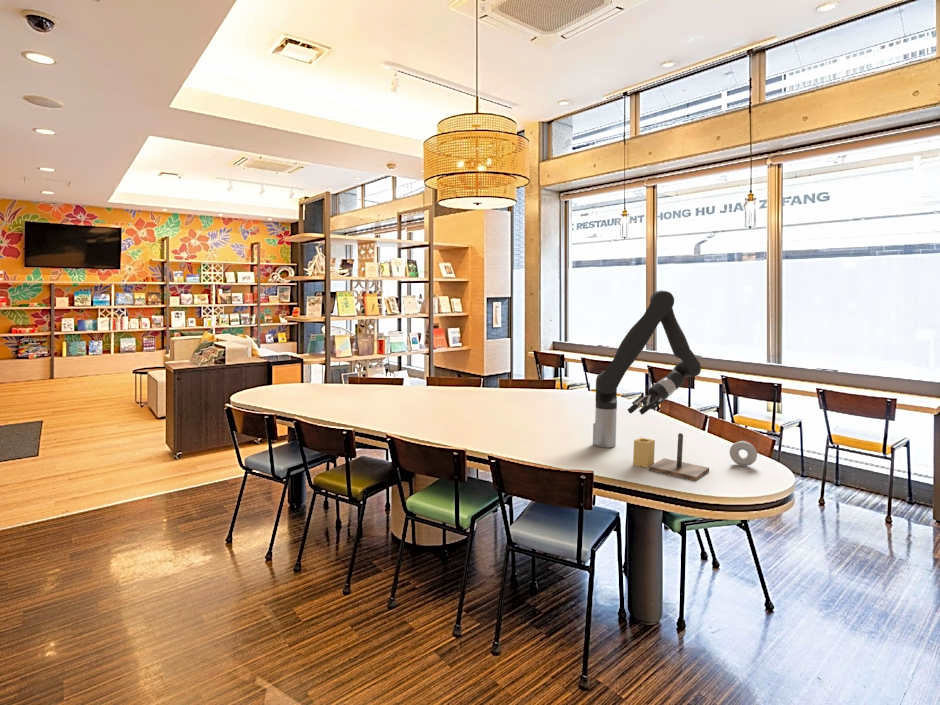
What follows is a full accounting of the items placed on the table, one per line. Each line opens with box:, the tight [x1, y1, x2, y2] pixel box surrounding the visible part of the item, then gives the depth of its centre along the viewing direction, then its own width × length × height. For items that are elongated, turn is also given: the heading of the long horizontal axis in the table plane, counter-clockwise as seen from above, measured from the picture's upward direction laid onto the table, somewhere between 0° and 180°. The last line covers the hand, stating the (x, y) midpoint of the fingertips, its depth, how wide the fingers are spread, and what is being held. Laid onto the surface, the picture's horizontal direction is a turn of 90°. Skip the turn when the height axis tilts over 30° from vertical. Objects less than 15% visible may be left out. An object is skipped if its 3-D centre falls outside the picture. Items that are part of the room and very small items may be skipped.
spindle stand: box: [648, 432, 710, 481], centre depth 215 cm, size 18×14×15 cm
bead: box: [632, 437, 656, 469], centre depth 223 cm, size 6×6×10 cm
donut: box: [729, 440, 758, 467], centre depth 222 cm, size 10×3×10 cm, turn 53°
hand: (634, 412), depth 232 cm, fingers open, 8 cm apart
